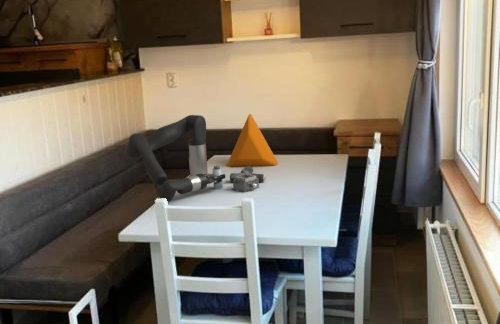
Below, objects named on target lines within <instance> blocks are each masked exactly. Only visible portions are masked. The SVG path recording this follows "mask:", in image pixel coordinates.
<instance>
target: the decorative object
mask: <svg viewBox="0 0 500 324" xmlns="http://www.w3.org/2000/svg"><path fill="white" fill-rule="evenodd" d="M278 165H279V162H278V160H277V158H276V156H275V155H274V153H273V151H272V150H271V147H270V146H269V143H268V142H267V140H266V139H265V137H264V135H263V133H262V132H261V129H260V128H259V126H258V124H257V122H256V121H255V119H254V116H253V115H252V114H251V113H249V114H248V115H247V117H246V120H245V123H244V125H243V127H242V129H241V131H240V134H239V136H238V138H237V141H236V144H235V145H234V148H233V150H232V153H231V154H230V157H229V159H228V161H227V165H226V167H230V166H231V167H246V166H251V167H263V166H264V167H266V166H267V167H268V166H269V167H270V166H278Z"/></svg>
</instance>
